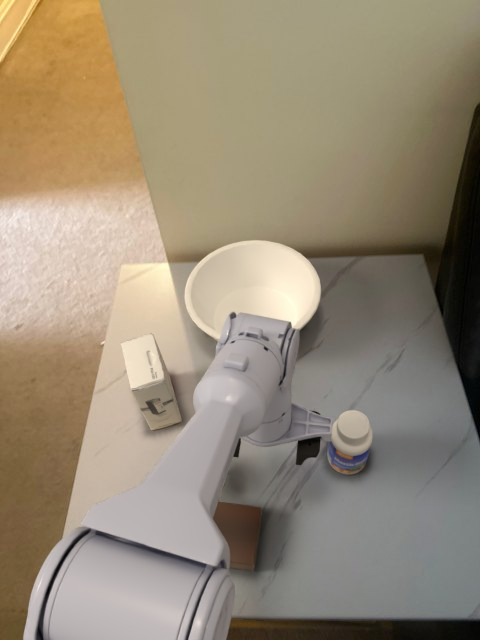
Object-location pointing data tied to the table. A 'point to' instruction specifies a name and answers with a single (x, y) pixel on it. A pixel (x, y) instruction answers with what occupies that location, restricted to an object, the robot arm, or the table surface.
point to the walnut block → (240, 532)
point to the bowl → (252, 285)
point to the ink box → (150, 381)
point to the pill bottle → (350, 442)
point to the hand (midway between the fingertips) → (267, 453)
